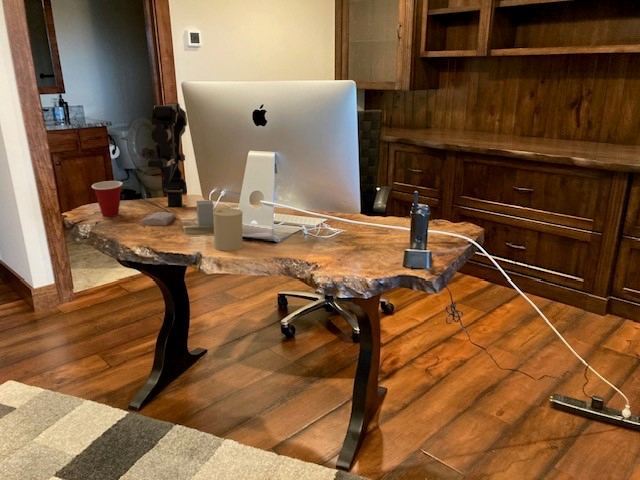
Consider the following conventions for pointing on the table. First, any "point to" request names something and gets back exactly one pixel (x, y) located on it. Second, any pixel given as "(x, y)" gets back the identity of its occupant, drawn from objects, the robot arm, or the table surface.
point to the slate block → (205, 213)
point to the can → (228, 229)
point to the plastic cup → (108, 196)
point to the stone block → (158, 219)
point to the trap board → (196, 227)
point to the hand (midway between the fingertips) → (167, 182)
